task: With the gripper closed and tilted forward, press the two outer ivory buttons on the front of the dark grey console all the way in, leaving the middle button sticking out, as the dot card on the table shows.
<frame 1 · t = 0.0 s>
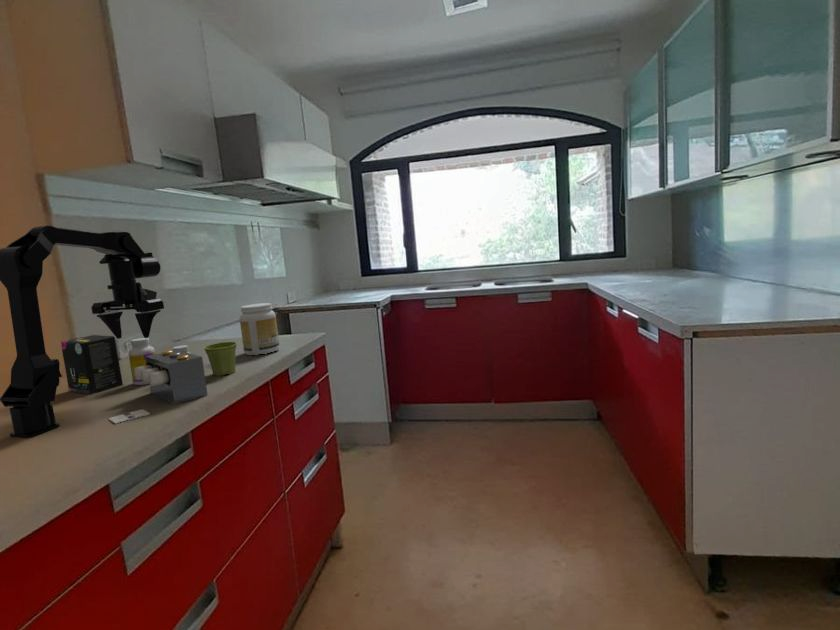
hand: (132, 338, 131), 15 cm above the countertop, tool pointing down, fingers open, 9 cm apart
supplement bottle 2: (185, 379, 143), on the countertop
console: (178, 393, 127), on the countertop
plant pot: (224, 373, 146), on the countertop
button b: (151, 375, 122), point 6 cm above the countertop, slide at 0.0 cm
supplement bottle: (146, 383, 142), on the countertop
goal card: (129, 416, 111), on the countertop
button c: (143, 372, 126), point 7 cm above the countertop, slide at 0.0 cm
tampon box: (96, 389, 140), on the countertop
button a: (158, 378, 118), point 6 cm above the countertop, slide at 0.0 cm
supplement tub: (262, 352, 173), on the countertop
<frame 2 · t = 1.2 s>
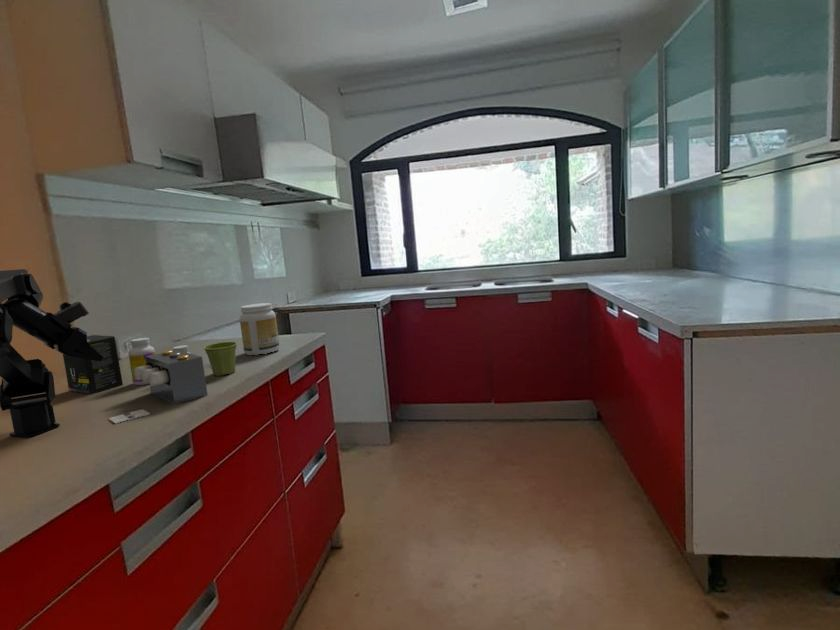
hand: (98, 357, 118), 13 cm above the countertop, tool tilted 45°, fingers open, 7 cm apart
nothing on the countertop moved.
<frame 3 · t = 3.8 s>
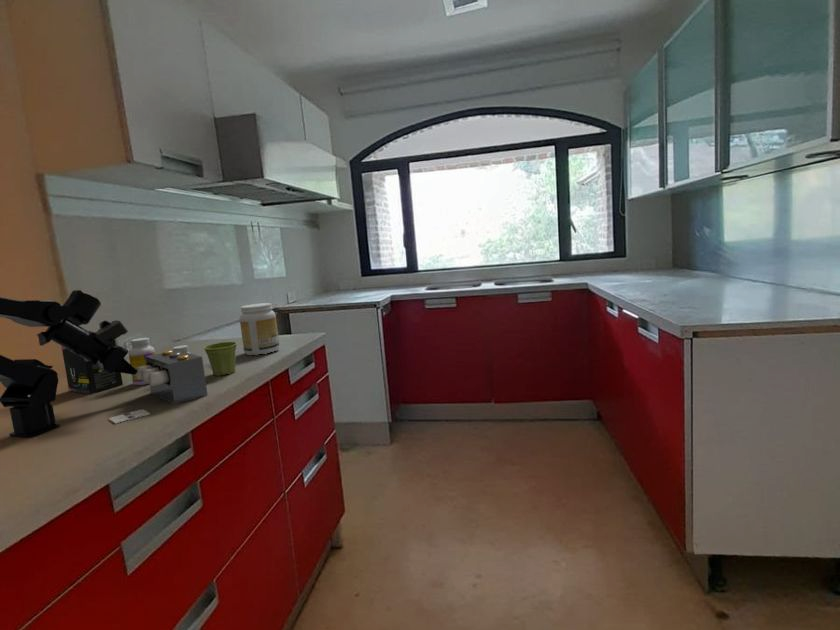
hand: (135, 372, 125), 7 cm above the countertop, tool tilted 45°, fingers closed, pressing on button c
button c: (144, 372, 126), point 7 cm above the countertop, slide at 0.3 cm, touching gripper
everything else where it was.
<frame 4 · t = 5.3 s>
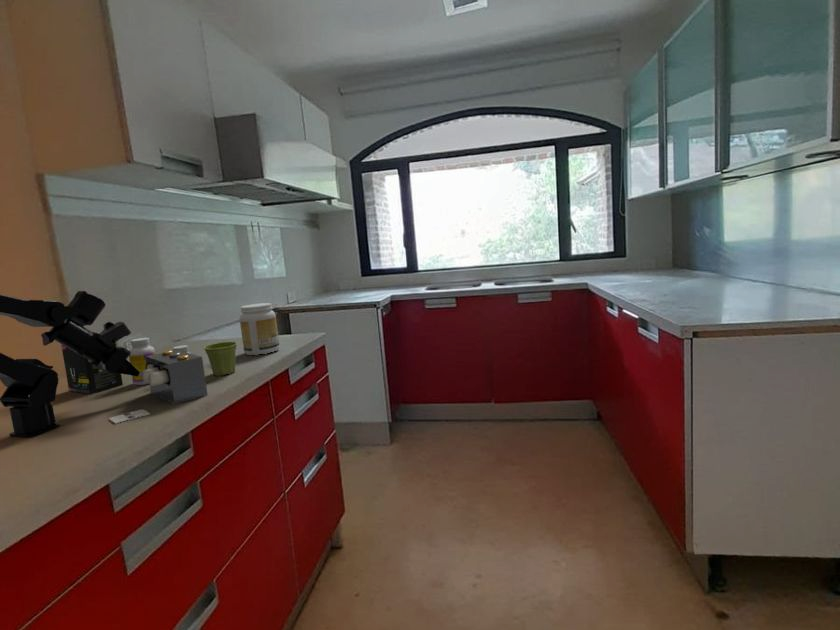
hand: (138, 374, 125), 6 cm above the countertop, tool tilted 45°, fingers closed
button c: (156, 369, 128), point 6 cm above the countertop, slide at 3.1 cm
everything else where it was.
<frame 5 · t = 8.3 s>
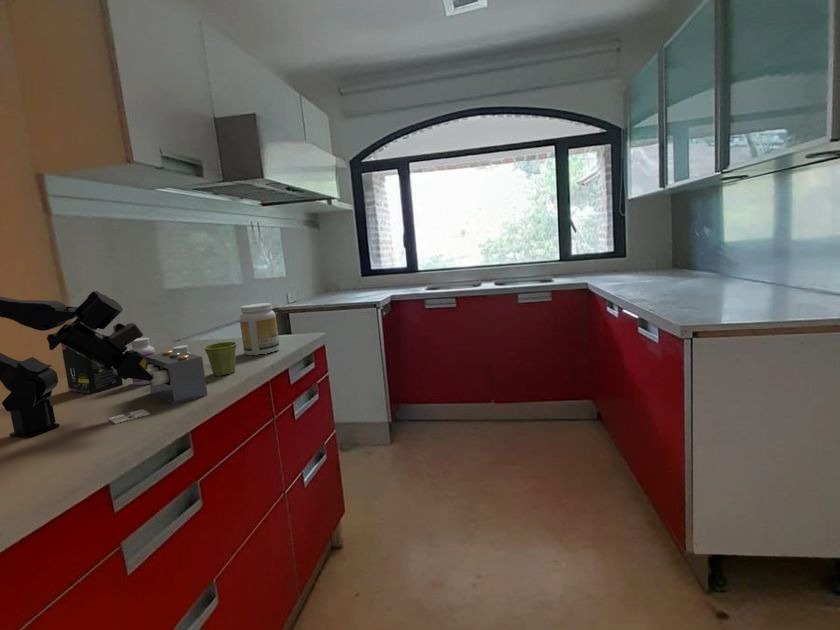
hand: (151, 379, 117), 7 cm above the countertop, tool tilted 45°, fingers closed, pressing on button a
button a: (160, 377, 119), point 7 cm above the countertop, slide at 0.4 cm, touching gripper
everything else where it was.
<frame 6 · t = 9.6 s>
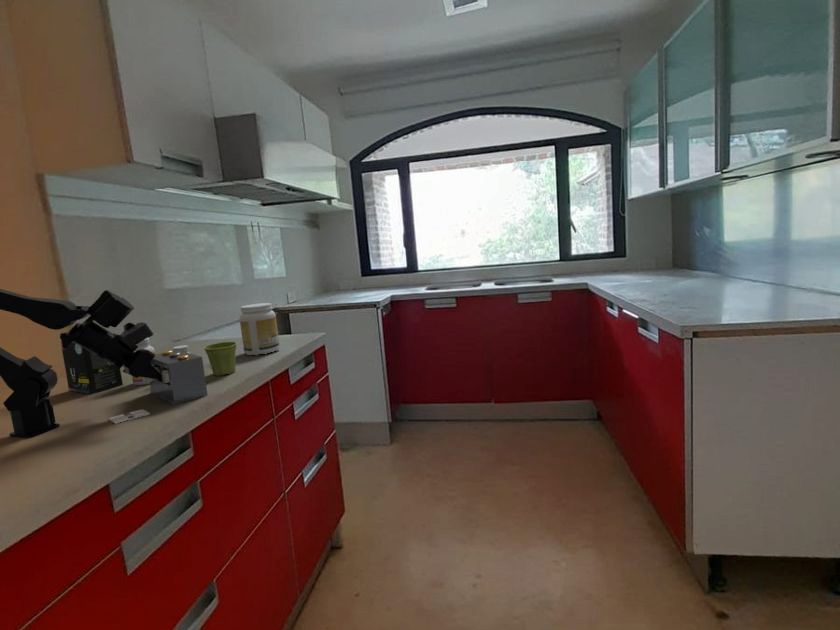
hand: (160, 377, 119), 6 cm above the countertop, tool tilted 45°, fingers closed
button a: (171, 375, 120), point 7 cm above the countertop, slide at 3.1 cm
everything else where it was.
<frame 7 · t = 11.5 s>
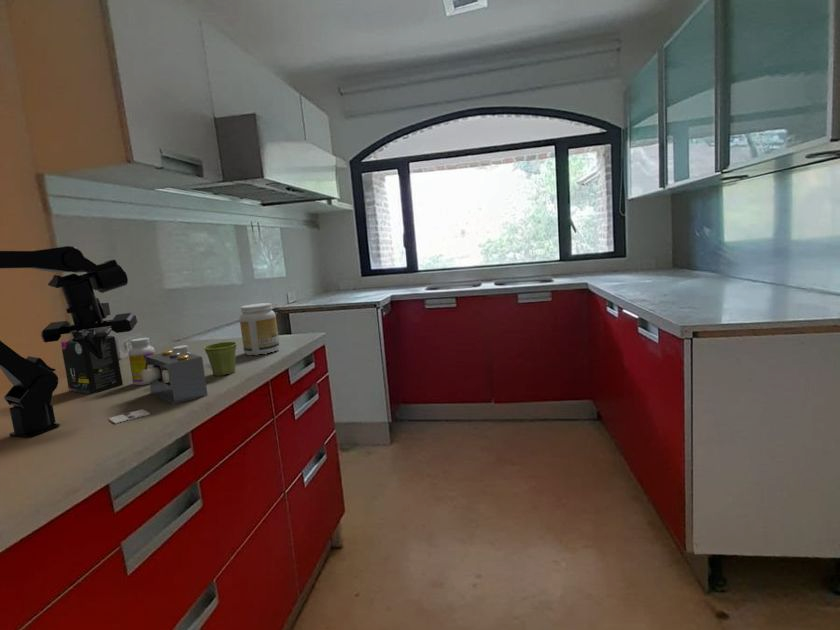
hand: (101, 358, 120), 12 cm above the countertop, tool tilted 15°, fingers closed
nothing on the countertop moved.
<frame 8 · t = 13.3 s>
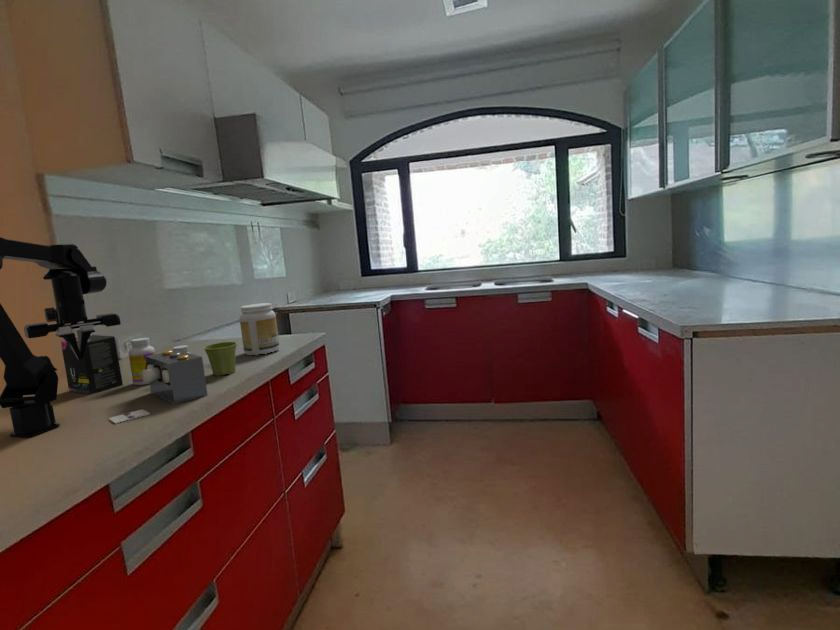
hand: (80, 359, 121), 12 cm above the countertop, tool pointing down, fingers closed
nothing on the countertop moved.
at the end: button a slide at 3.1 cm; button c slide at 3.1 cm; button b slide at 0.0 cm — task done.
